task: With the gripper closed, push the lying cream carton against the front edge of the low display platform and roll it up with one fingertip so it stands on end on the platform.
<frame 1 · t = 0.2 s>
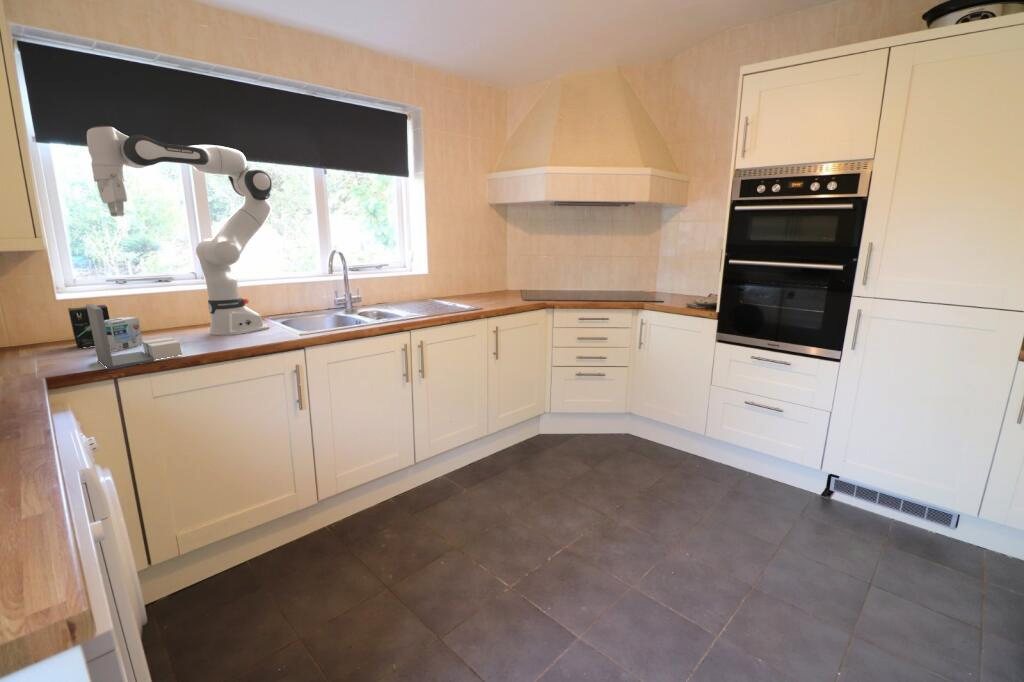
hand: (117, 216, 171), 47 cm above the table, tool pointing down, fingers open, 8 cm apart
cream carton: (163, 355, 166), on the table
tampon box: (95, 345, 183), on the table
light bulb box: (123, 348, 178), on the table
display platform: (126, 361, 159), on the table
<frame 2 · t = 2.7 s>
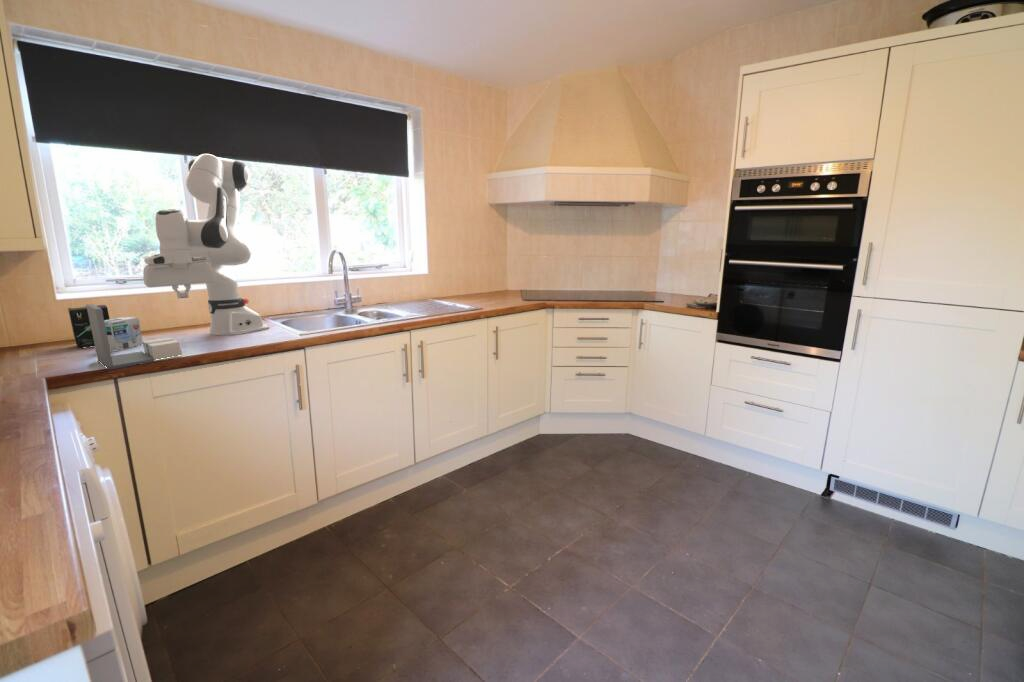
hand: (183, 297, 168), 19 cm above the table, tool pointing down, fingers closed
nothing on the table moved.
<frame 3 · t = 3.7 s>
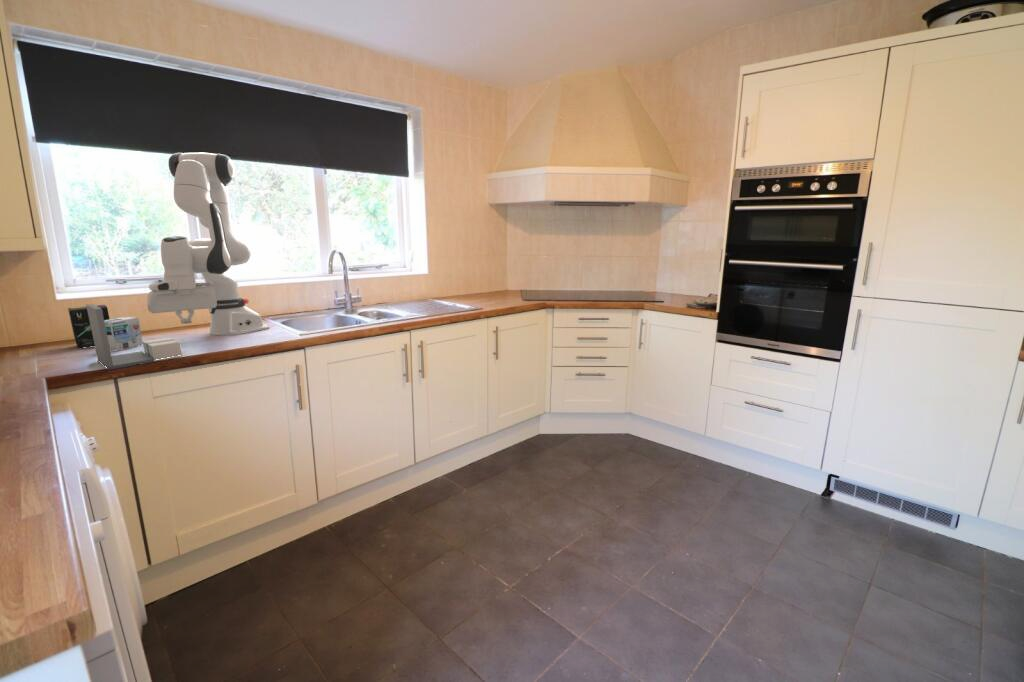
hand: (186, 323, 169), 10 cm above the table, tool pointing down, fingers closed
nothing on the table moved.
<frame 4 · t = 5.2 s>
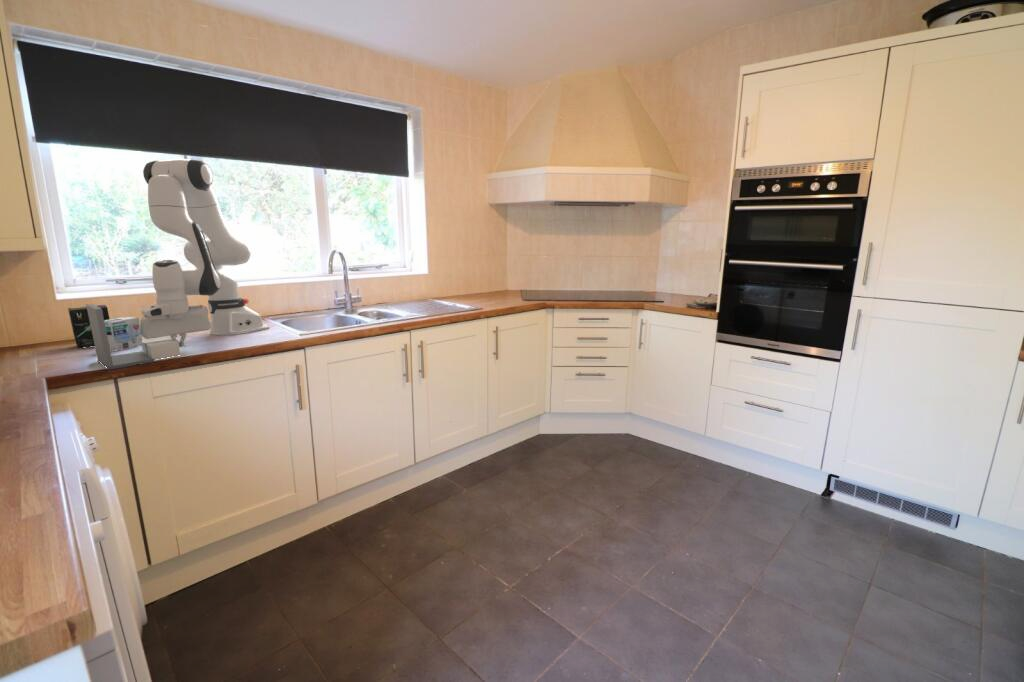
hand: (180, 346, 169), 2 cm above the table, tool pointing down, fingers closed
cream carton: (162, 355, 166), on the table, touching display platform, gripper
everything else where it was.
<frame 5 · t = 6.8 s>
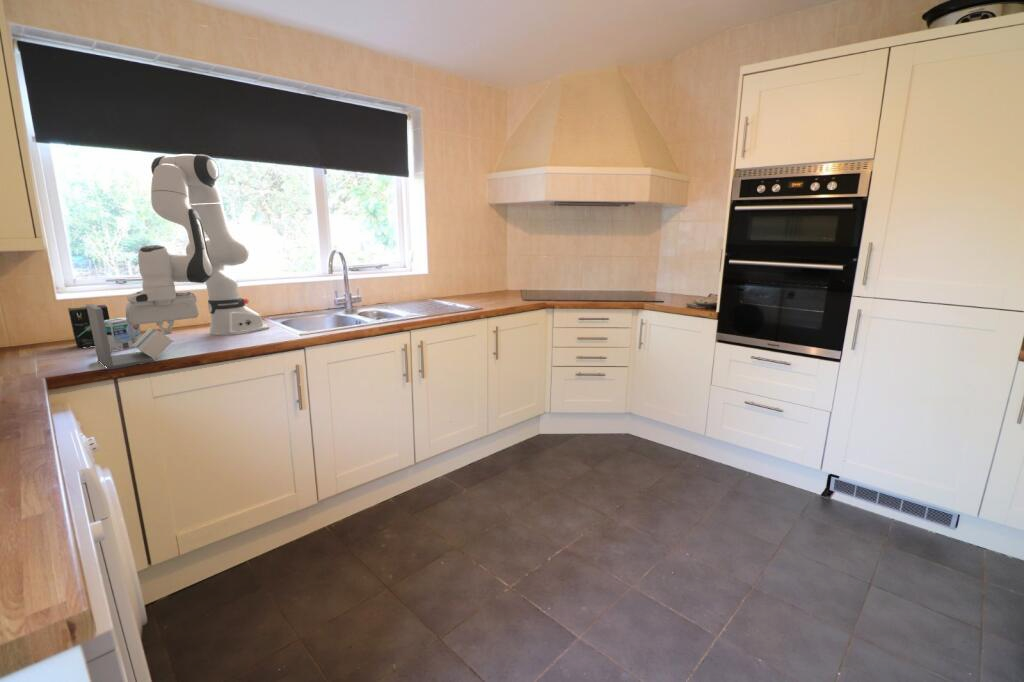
hand: (167, 334, 166), 7 cm above the table, tool pointing down, fingers closed
cream carton: (159, 347, 165), point 3 cm above the table, tilted 42°, touching display platform, gripper
everything else where it was.
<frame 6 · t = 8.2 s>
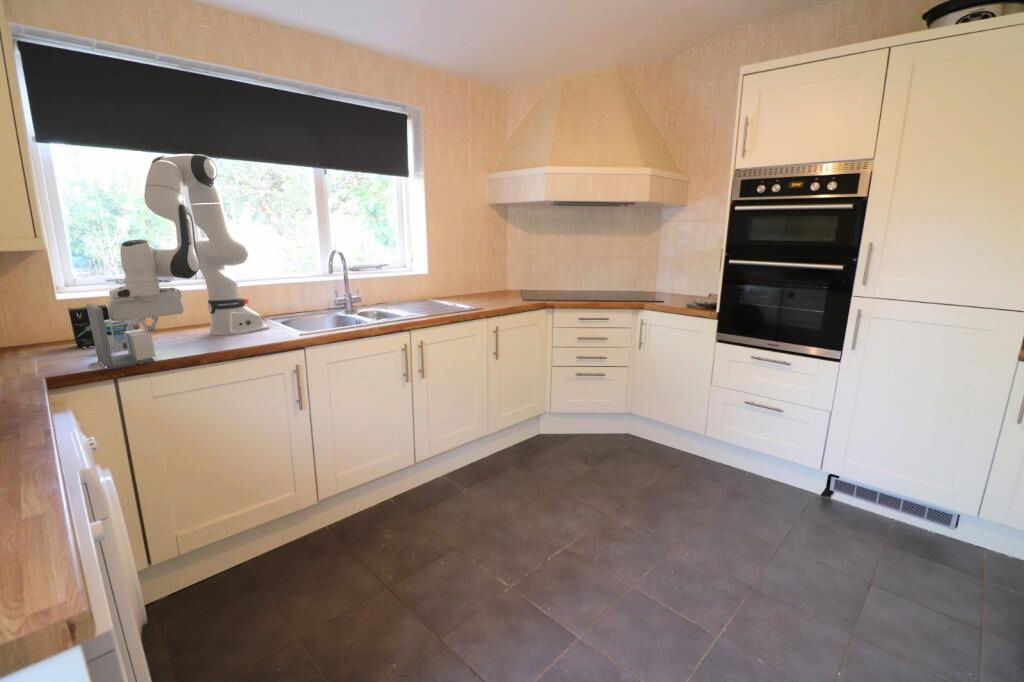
hand: (150, 330, 162), 9 cm above the table, tool pointing down, fingers closed
cream carton: (148, 342, 163), point 5 cm above the table, tilted 91°, touching display platform, gripper
everything else where it was.
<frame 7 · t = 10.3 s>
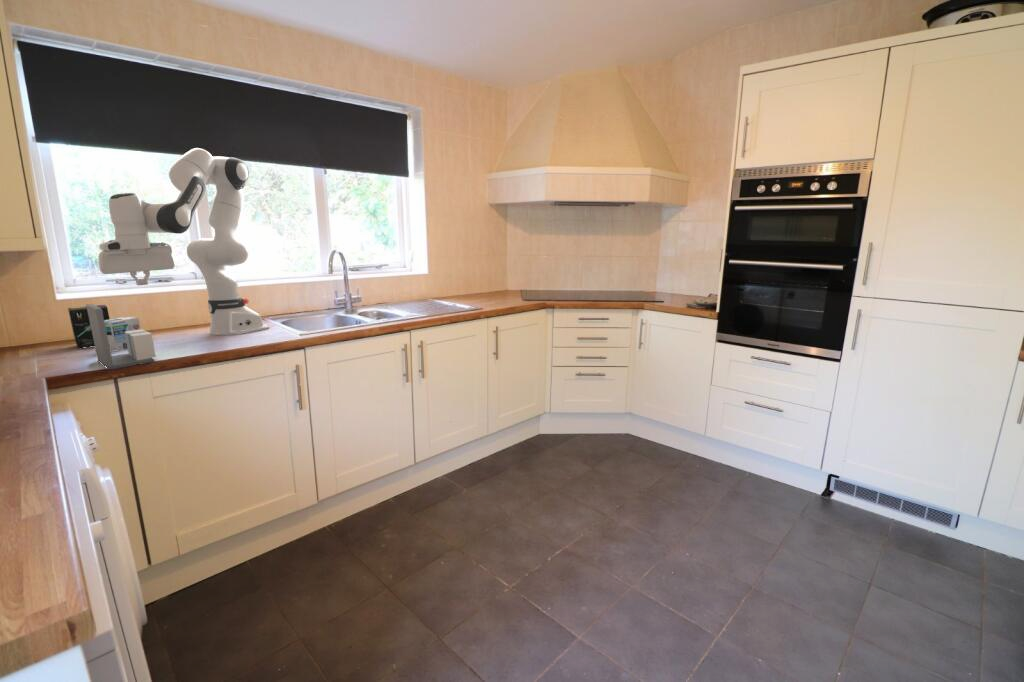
hand: (142, 284, 164), 24 cm above the table, tool pointing down, fingers closed
cream carton: (149, 342, 163), point 5 cm above the table, tilted 90°, touching display platform
everything else where it was.
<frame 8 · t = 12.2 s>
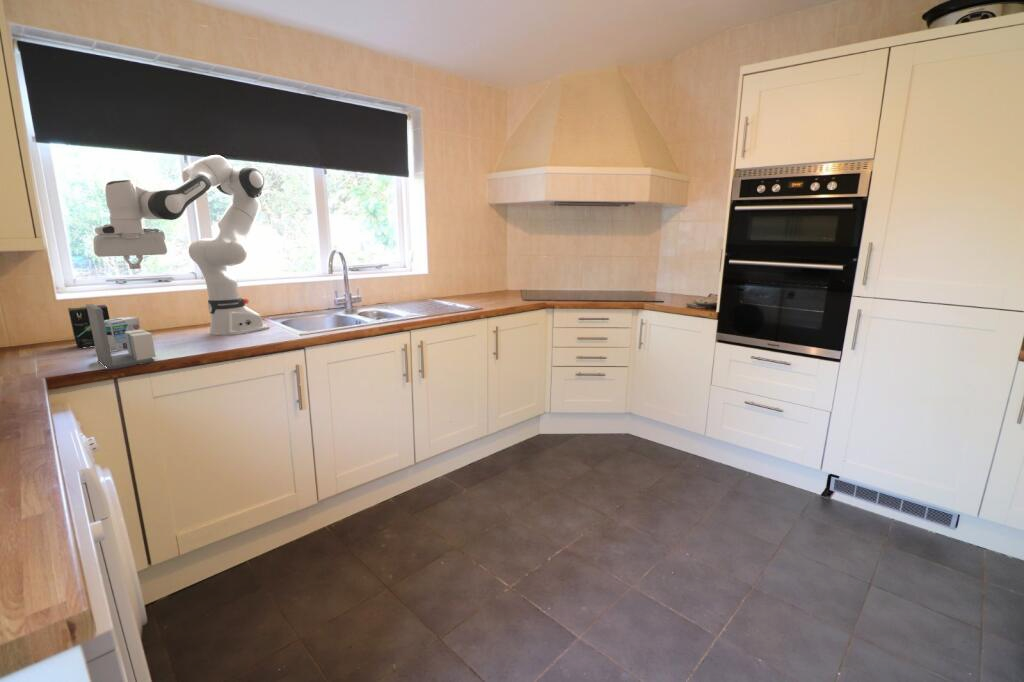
hand: (135, 268, 170), 29 cm above the table, tool pointing down, fingers closed
nothing on the table moved.
at the end: cream carton inside the target area on the display platform (0.8 cm from its centre), point 5.0 cm above the display platform's base; cream carton tilted 90°; cream carton touching display platform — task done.
